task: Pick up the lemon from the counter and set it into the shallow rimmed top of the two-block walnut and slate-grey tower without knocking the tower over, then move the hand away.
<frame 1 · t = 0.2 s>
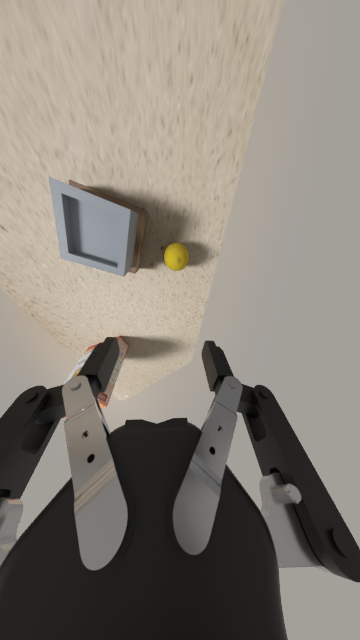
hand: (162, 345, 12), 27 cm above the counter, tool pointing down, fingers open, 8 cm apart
cracker box: (108, 345, 49), on the counter
lemon: (175, 253, 33), on the counter
slate cup block: (108, 233, 26), point 5 cm above the counter, touching walnut base block
walnut base block: (116, 233, 30), on the counter, touching slate cup block
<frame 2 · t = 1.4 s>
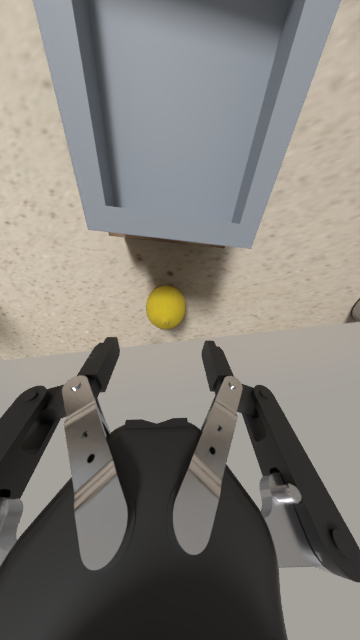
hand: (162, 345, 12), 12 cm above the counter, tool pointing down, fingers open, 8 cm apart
lemon: (167, 294, 22), on the counter
slate cup block: (178, 161, 11), point 5 cm above the counter, touching walnut base block
walnut base block: (172, 174, 15), on the counter, touching slate cup block
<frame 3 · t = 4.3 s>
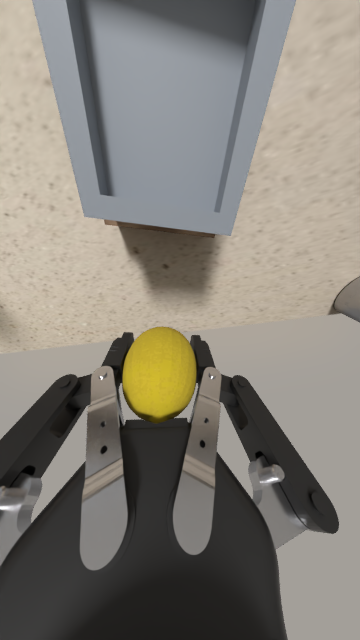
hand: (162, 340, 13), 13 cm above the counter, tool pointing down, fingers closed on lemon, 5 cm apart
lemon: (163, 331, 14), point 12 cm above the counter, touching gripper
slate cup block: (166, 156, 12), point 5 cm above the counter, touching walnut base block
walnut base block: (165, 167, 15), on the counter, touching slate cup block
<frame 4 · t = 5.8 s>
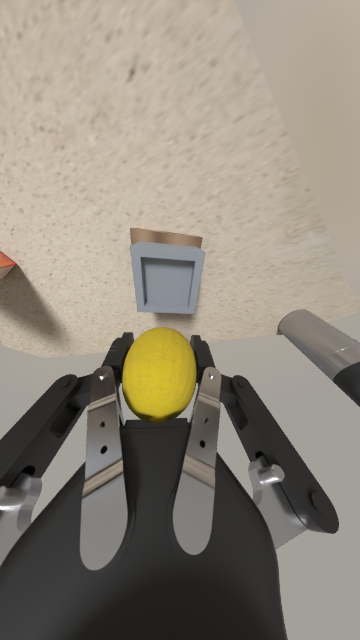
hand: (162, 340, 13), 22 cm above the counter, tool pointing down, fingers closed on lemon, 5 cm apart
lemon: (163, 331, 14), point 20 cm above the counter, touching gripper
slate cup block: (167, 273, 26), point 5 cm above the counter, touching walnut base block
walnut base block: (166, 264, 30), on the counter, touching slate cup block
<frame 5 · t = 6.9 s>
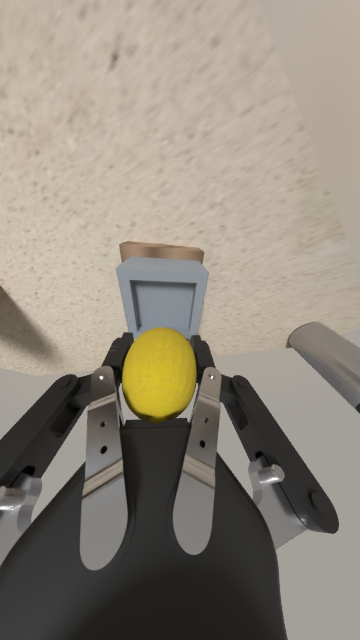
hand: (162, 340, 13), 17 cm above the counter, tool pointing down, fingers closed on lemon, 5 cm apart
lemon: (163, 331, 14), point 15 cm above the counter, touching gripper
slate cup block: (165, 290, 22), point 5 cm above the counter, touching walnut base block
walnut base block: (163, 278, 26), on the counter, touching slate cup block
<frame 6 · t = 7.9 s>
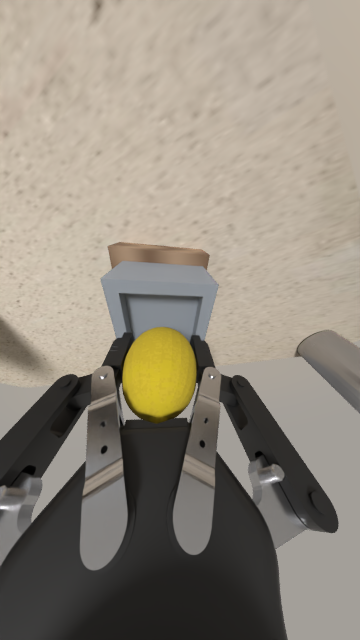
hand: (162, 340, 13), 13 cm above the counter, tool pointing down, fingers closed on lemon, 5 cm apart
lemon: (163, 331, 14), point 12 cm above the counter, touching gripper
slate cup block: (163, 299, 19), point 5 cm above the counter
walnut base block: (161, 284, 23), on the counter
when the fingers open (13 cm above the counter, at t = 8.0 s): lemon drops 2 cm, resting on slate cup block.
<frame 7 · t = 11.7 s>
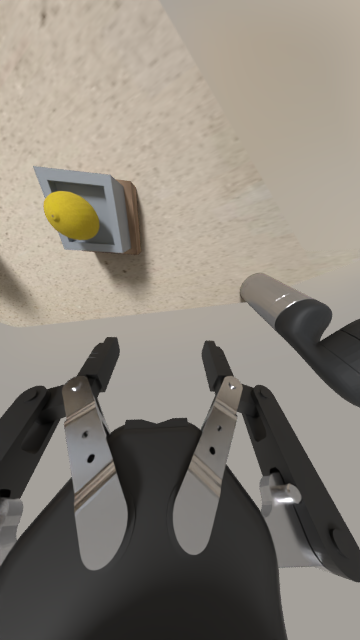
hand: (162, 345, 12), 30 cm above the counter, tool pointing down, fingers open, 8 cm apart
lemon: (92, 219, 23), point 10 cm above the counter, touching slate cup block
slate cup block: (101, 218, 26), point 5 cm above the counter, touching lemon, walnut base block
walnut base block: (112, 220, 31), on the counter, touching slate cup block
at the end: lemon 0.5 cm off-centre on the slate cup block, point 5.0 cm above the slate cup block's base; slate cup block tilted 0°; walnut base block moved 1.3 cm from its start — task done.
